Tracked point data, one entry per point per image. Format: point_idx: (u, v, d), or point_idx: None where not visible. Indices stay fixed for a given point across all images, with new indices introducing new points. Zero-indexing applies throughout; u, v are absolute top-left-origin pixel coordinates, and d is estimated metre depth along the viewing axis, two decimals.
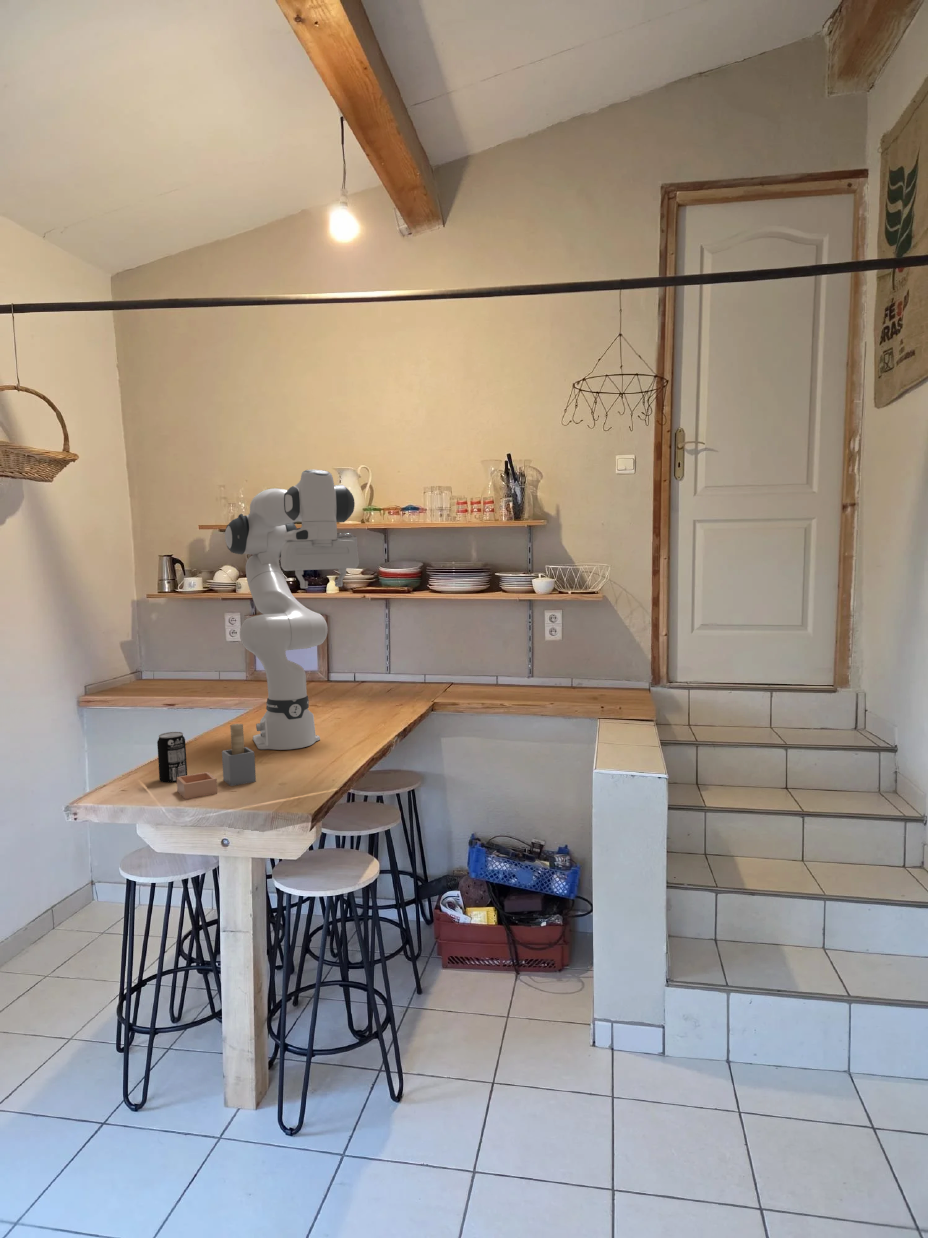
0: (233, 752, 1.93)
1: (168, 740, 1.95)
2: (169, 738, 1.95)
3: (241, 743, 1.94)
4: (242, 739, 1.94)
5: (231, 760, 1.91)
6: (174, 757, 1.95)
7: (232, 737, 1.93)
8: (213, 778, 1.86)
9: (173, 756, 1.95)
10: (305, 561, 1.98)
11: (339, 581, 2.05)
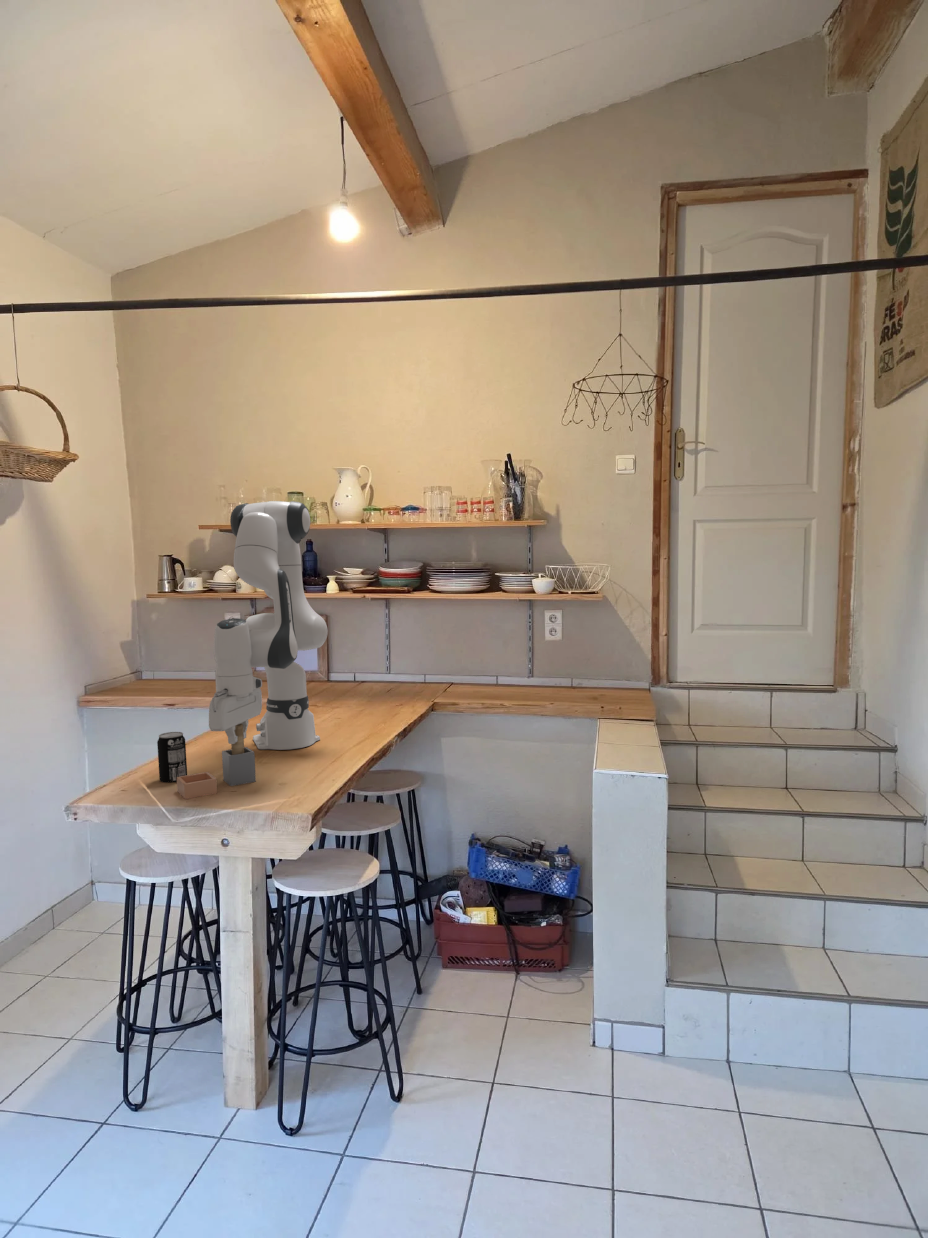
0: (233, 752, 1.93)
1: (168, 740, 1.95)
2: (169, 738, 1.95)
3: (241, 743, 1.94)
4: (242, 739, 1.94)
5: (231, 760, 1.91)
6: (174, 757, 1.95)
7: None
8: (213, 778, 1.86)
9: (173, 756, 1.95)
10: None
11: None
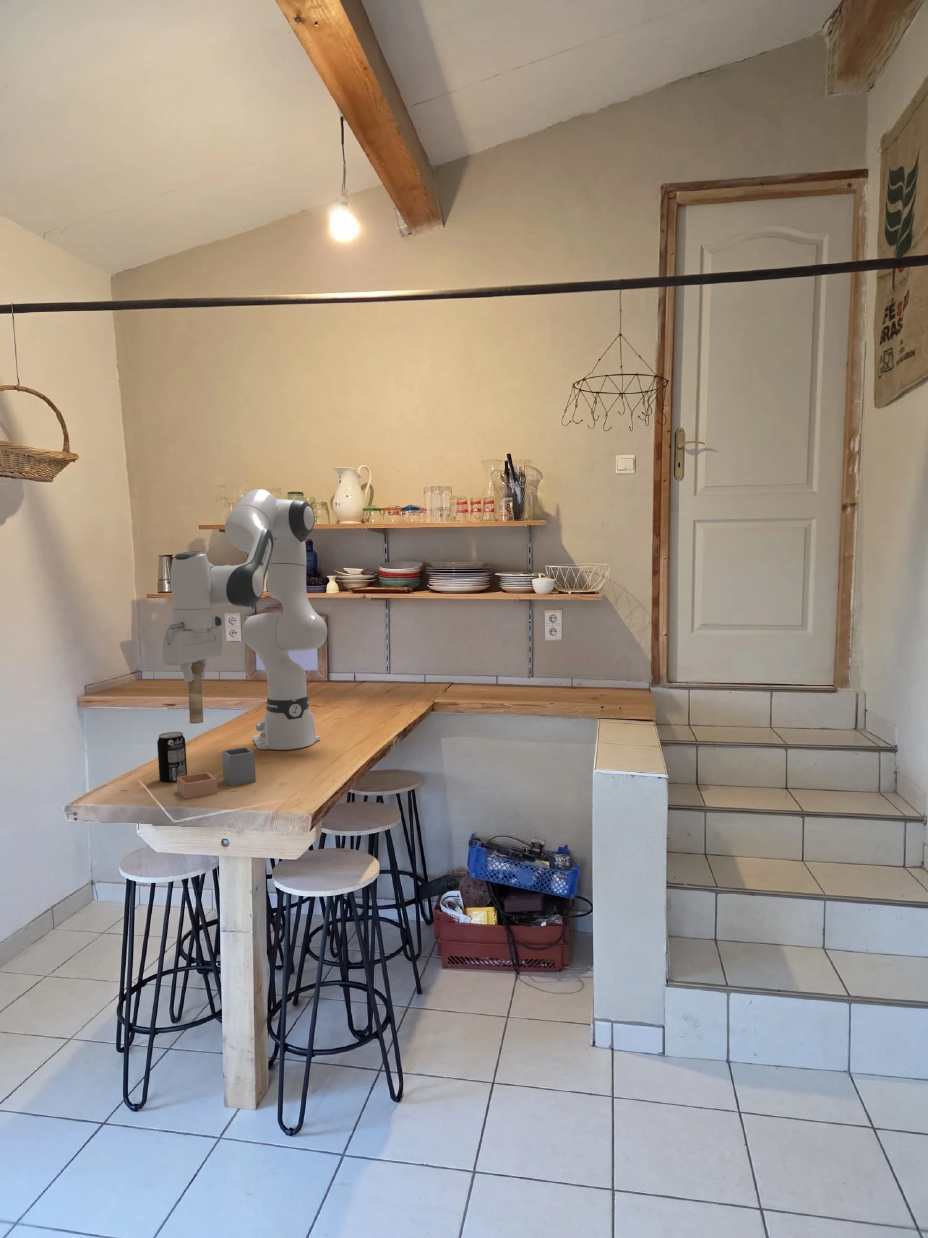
0: (190, 691, 1.84)
1: (168, 740, 1.95)
2: (169, 738, 1.95)
3: (198, 682, 1.84)
4: (200, 678, 1.84)
5: (231, 760, 1.91)
6: (174, 757, 1.95)
7: None
8: (213, 778, 1.86)
9: (173, 756, 1.95)
10: None
11: None
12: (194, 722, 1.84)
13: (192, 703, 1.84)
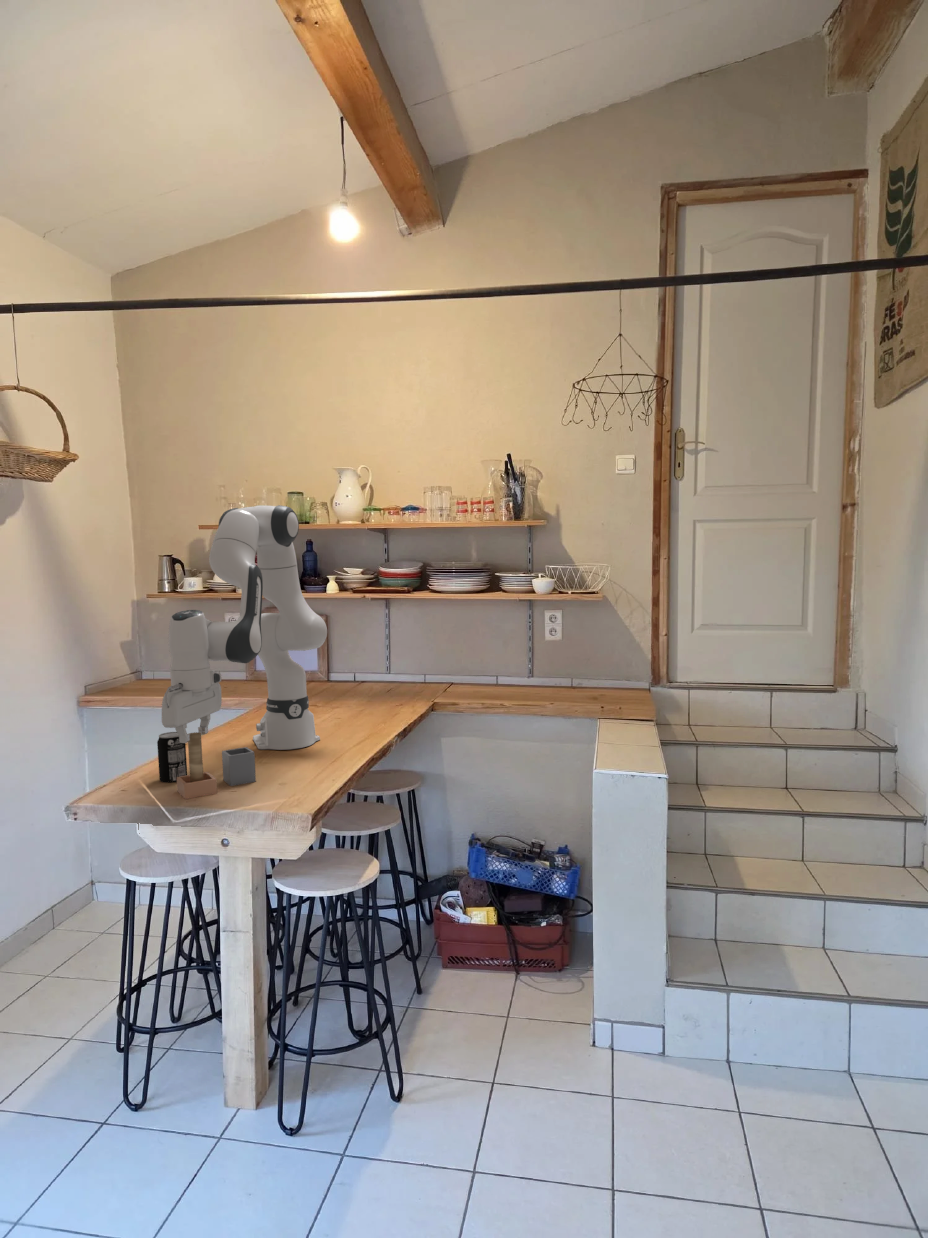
0: (190, 762, 1.85)
1: (168, 740, 1.95)
2: (169, 738, 1.95)
3: (199, 752, 1.85)
4: (200, 748, 1.86)
5: (231, 760, 1.91)
6: (174, 757, 1.95)
7: (189, 746, 1.85)
8: (213, 778, 1.86)
9: (173, 756, 1.95)
10: None
11: None
12: None
13: (193, 774, 1.85)
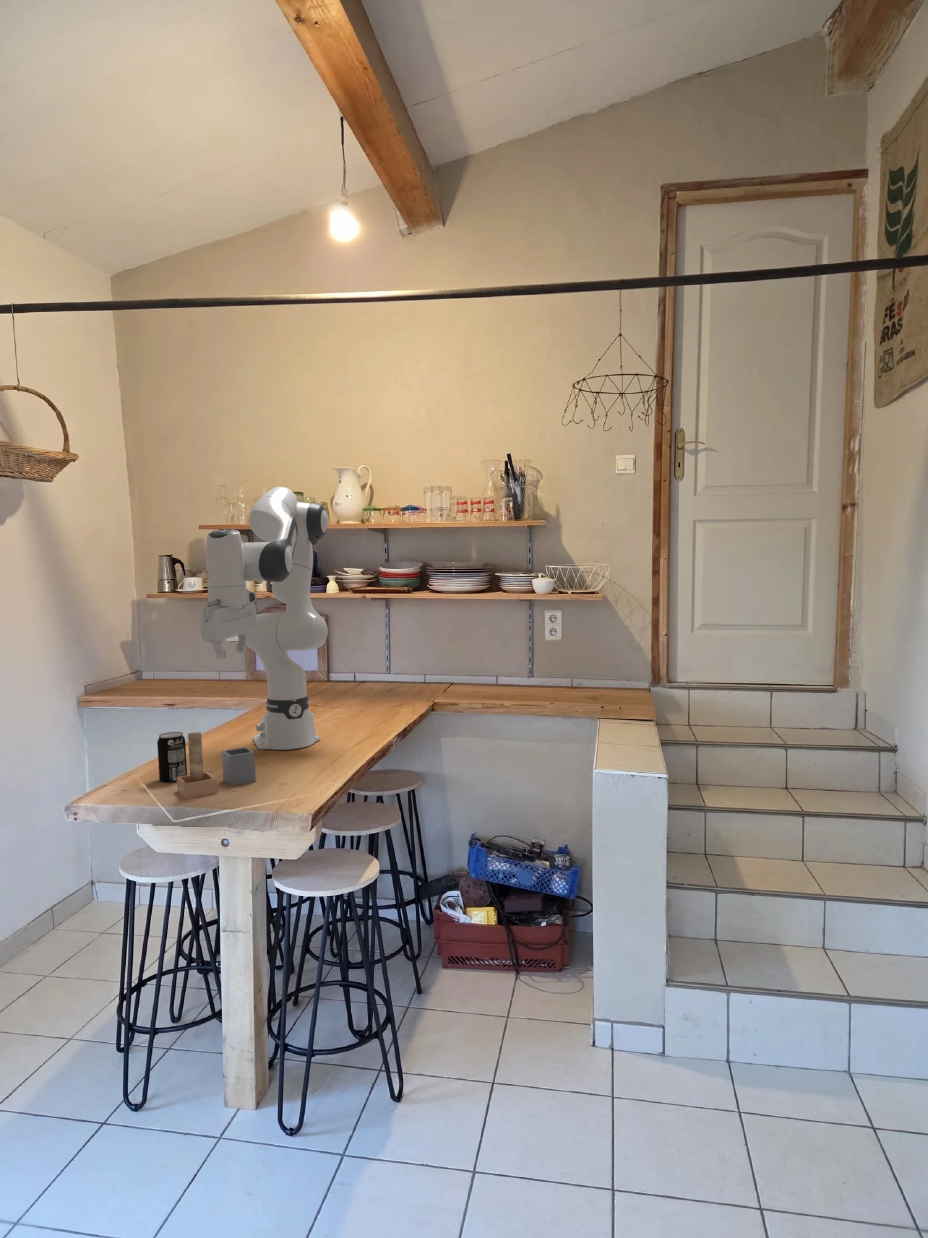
0: (190, 762, 1.85)
1: (168, 740, 1.95)
2: (169, 738, 1.95)
3: (199, 752, 1.85)
4: (200, 748, 1.86)
5: (231, 760, 1.91)
6: (174, 757, 1.95)
7: (189, 746, 1.85)
8: (213, 778, 1.86)
9: (173, 756, 1.95)
10: None
11: None
12: None
13: (193, 774, 1.85)
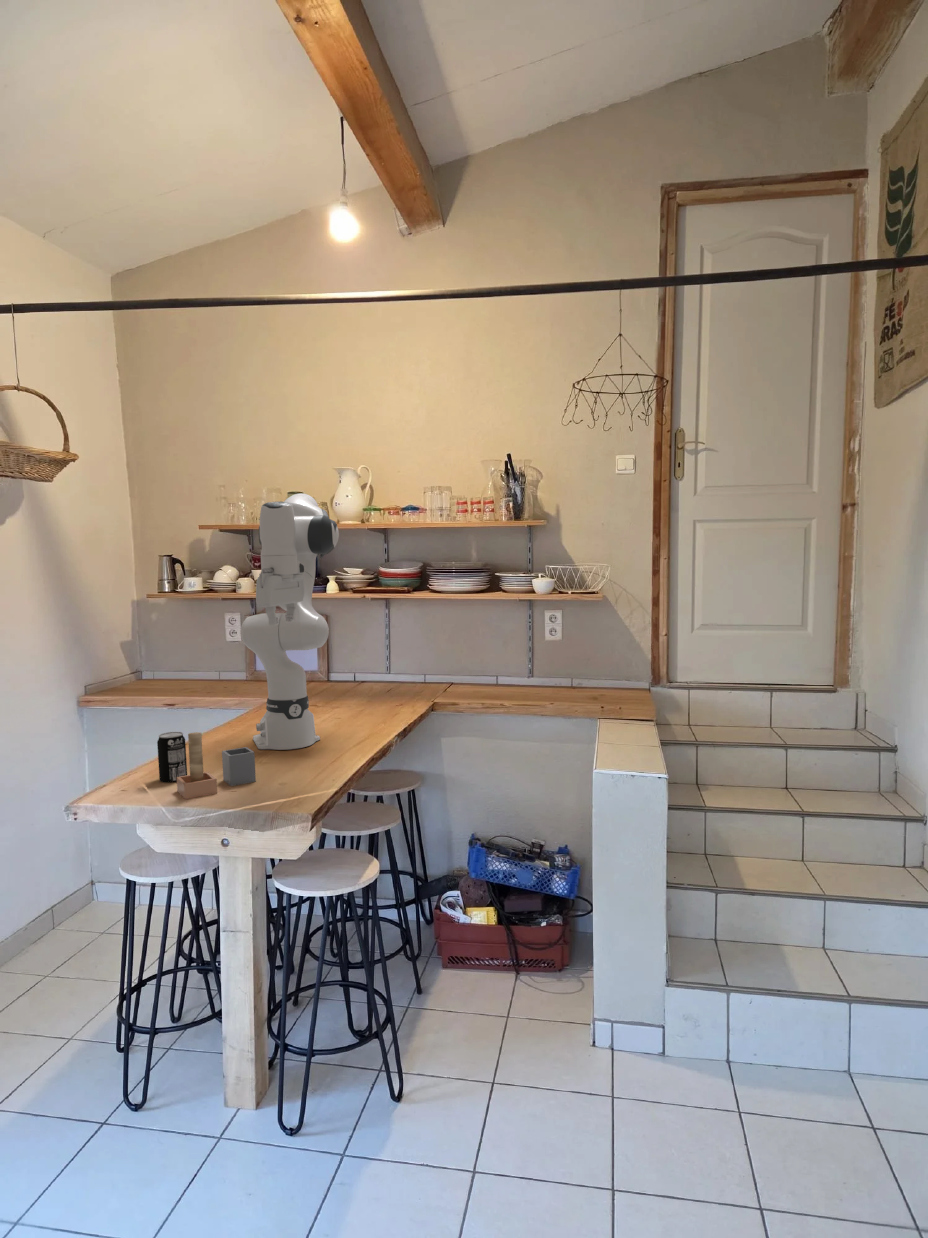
0: (191, 762, 1.85)
1: (168, 740, 1.95)
2: (169, 738, 1.95)
3: (199, 752, 1.85)
4: (200, 748, 1.86)
5: (231, 760, 1.91)
6: (174, 757, 1.95)
7: (190, 746, 1.85)
8: (213, 778, 1.86)
9: (173, 756, 1.95)
10: None
11: None
12: None
13: (193, 774, 1.85)
